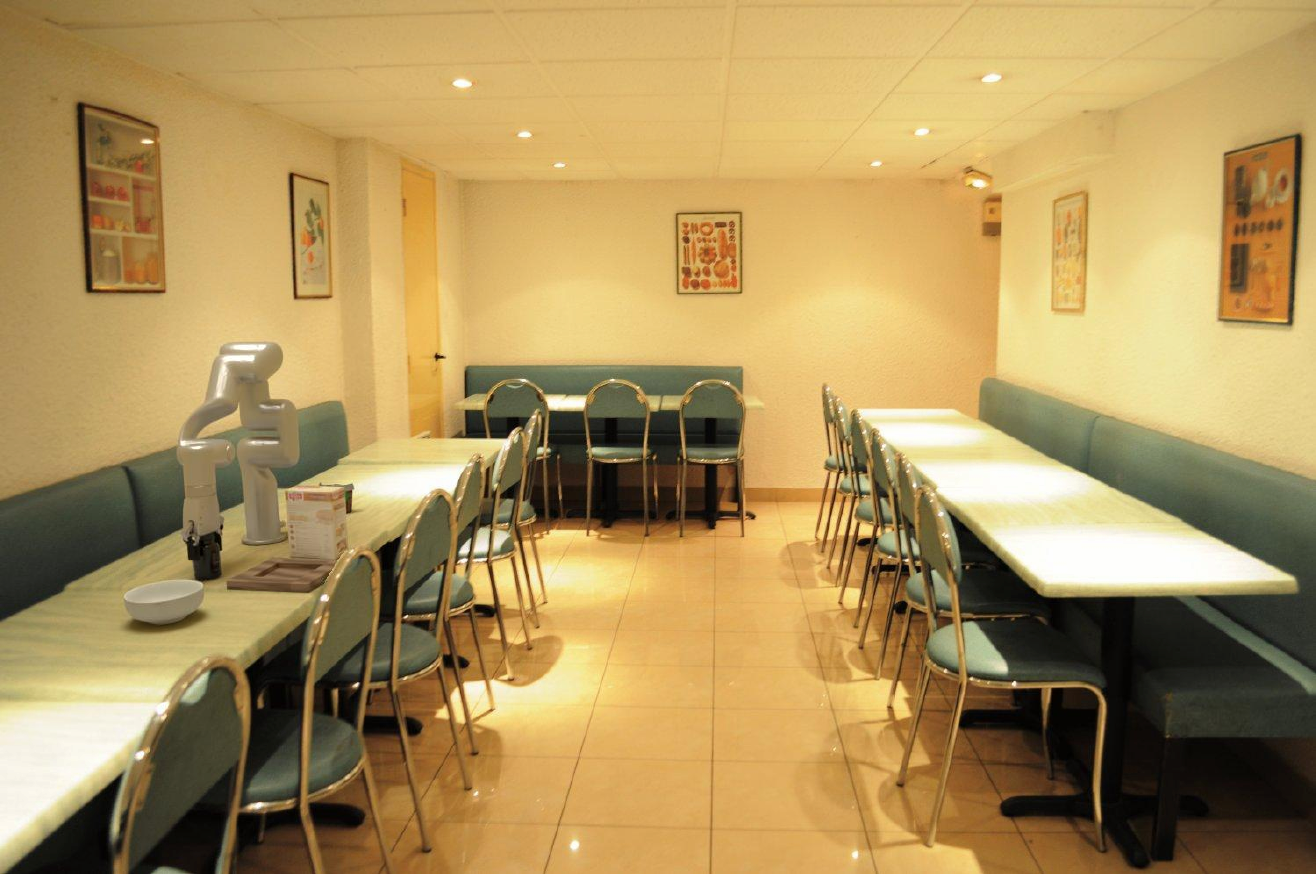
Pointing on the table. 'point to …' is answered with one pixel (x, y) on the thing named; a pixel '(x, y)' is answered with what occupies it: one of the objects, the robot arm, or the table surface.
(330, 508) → the coffeecake box
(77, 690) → the table surface
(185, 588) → the cereal bowl
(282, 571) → the wooden tray
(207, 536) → the supplement bottle
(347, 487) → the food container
